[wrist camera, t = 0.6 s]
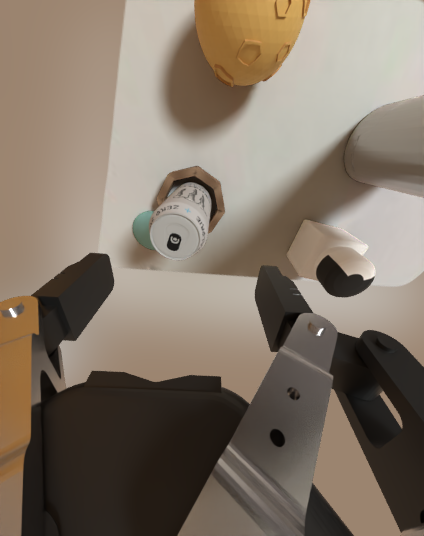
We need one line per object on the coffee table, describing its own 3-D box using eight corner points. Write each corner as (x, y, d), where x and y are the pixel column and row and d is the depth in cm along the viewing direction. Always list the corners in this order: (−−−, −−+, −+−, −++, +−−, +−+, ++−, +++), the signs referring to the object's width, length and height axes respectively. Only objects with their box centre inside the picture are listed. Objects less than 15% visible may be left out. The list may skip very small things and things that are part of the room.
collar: (216, 161, 28) (216, 162, 26) (227, 224, 33) (227, 229, 31) (154, 176, 29) (149, 178, 27) (173, 234, 34) (170, 240, 32)
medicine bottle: (320, 263, 37) (360, 308, 26) (285, 255, 36) (311, 298, 26) (342, 228, 33) (398, 264, 23) (303, 218, 32) (343, 250, 22)
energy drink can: (217, 190, 30) (216, 221, 18) (204, 225, 33) (195, 273, 21) (180, 174, 29) (150, 195, 17) (170, 212, 32) (138, 254, 20)
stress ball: (193, 12, 22) (178, 88, 20) (225, -200, 12) (201, -86, 11) (271, 54, 24) (263, 125, 23) (346, -92, 15) (340, 11, 13)
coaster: (166, 207, 32) (165, 207, 32) (178, 245, 35) (178, 246, 35) (126, 215, 33) (125, 216, 32) (142, 252, 36) (142, 253, 36)
